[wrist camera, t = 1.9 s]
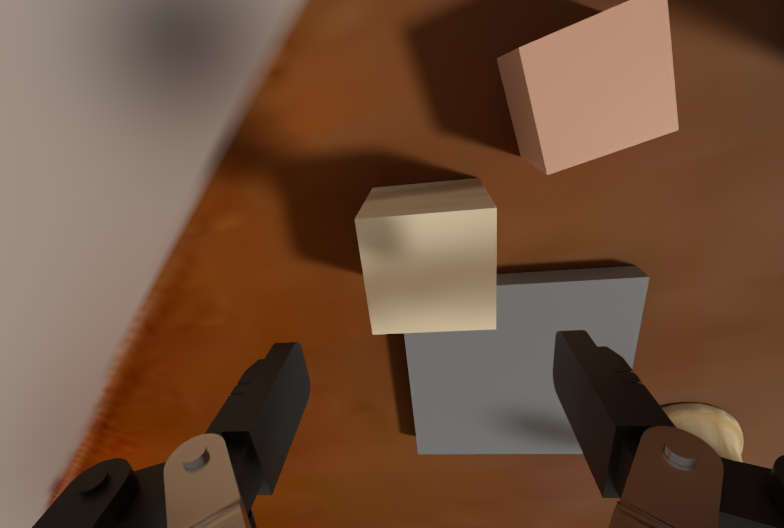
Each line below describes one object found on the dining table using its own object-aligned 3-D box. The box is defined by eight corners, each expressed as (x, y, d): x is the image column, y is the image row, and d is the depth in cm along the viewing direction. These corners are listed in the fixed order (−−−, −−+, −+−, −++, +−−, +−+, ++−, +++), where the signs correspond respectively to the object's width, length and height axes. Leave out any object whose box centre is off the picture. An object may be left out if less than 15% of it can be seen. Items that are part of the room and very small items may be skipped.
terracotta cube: (496, 58, 18) (518, 47, 14) (603, 12, 17) (666, -16, 13) (520, 156, 20) (547, 175, 16) (618, 120, 19) (678, 129, 14)
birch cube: (372, 187, 22) (354, 219, 16) (478, 177, 21) (496, 207, 15) (385, 279, 24) (372, 334, 19) (480, 273, 23) (496, 329, 18)
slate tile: (400, 279, 24) (398, 291, 22) (635, 265, 22) (649, 276, 21) (418, 437, 29) (418, 454, 28) (606, 435, 28) (615, 453, 26)
